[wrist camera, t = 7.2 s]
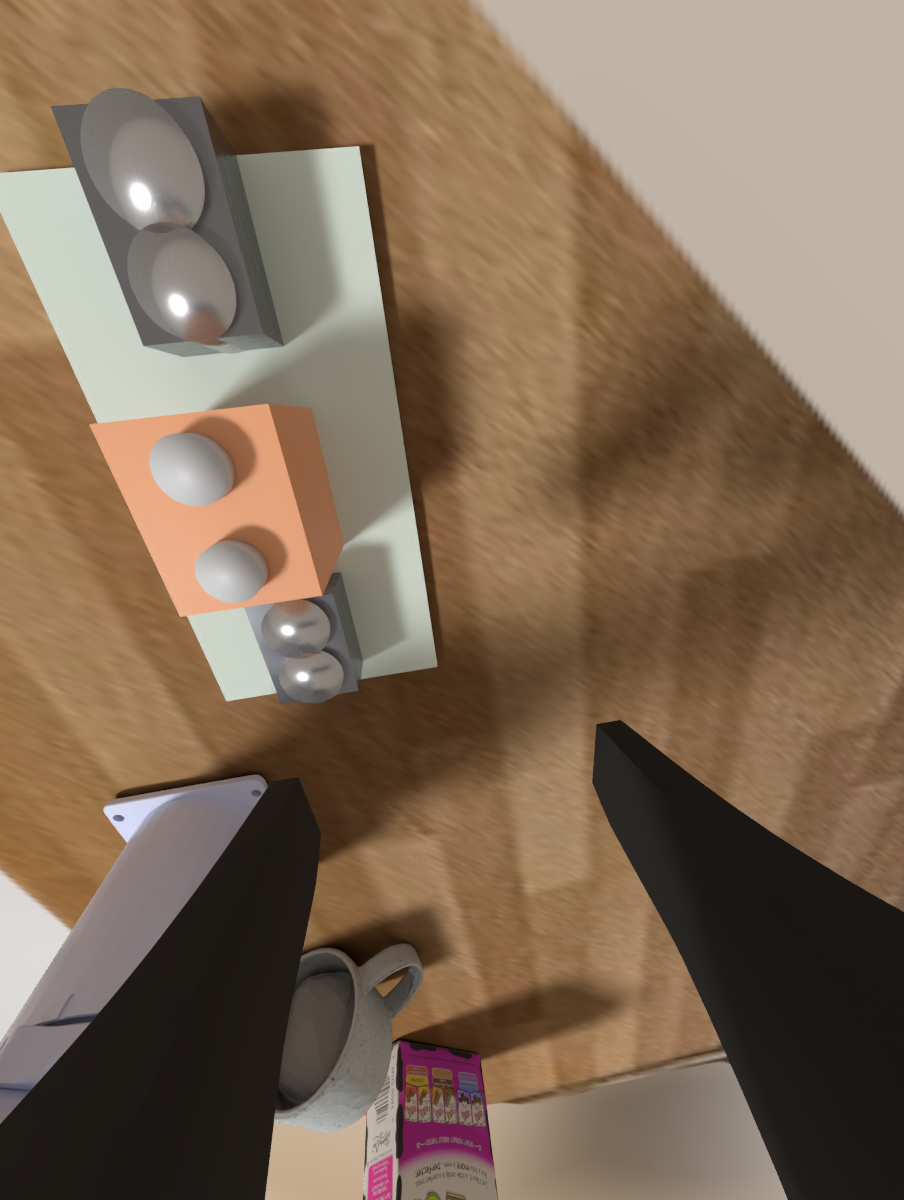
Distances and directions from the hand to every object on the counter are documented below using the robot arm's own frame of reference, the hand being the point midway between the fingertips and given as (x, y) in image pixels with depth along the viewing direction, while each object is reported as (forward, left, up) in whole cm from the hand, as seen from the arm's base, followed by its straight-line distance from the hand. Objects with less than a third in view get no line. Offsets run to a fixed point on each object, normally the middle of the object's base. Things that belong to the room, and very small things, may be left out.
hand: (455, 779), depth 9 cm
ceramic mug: (-30, +10, -10) cm, 33 cm away
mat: (+6, +5, -9) cm, 12 cm away
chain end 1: (+13, +5, -9) cm, 16 cm away
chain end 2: (0, +5, -9) cm, 10 cm away
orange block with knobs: (+6, +5, -9) cm, 12 cm away
